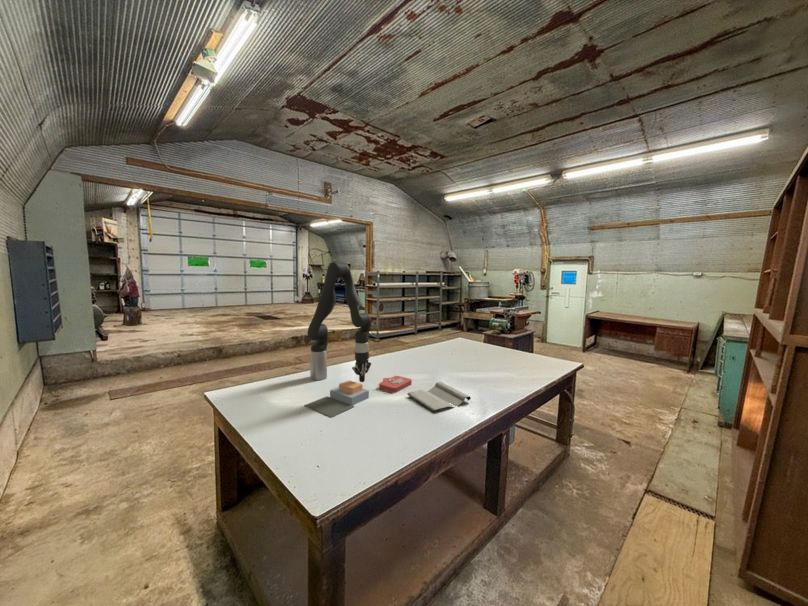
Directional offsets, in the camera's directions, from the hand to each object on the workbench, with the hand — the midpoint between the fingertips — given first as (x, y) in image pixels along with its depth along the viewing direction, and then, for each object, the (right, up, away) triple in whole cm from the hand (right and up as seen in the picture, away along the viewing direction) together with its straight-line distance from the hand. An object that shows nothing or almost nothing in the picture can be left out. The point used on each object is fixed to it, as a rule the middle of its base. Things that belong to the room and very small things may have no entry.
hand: (361, 381), depth 170 cm
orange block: (-5, -3, -6) cm, 9 cm away
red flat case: (+17, -6, +11) cm, 21 cm away
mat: (+40, -8, -8) cm, 42 cm away
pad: (-14, -8, -18) cm, 24 cm away
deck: (-6, -7, -7) cm, 11 cm away
